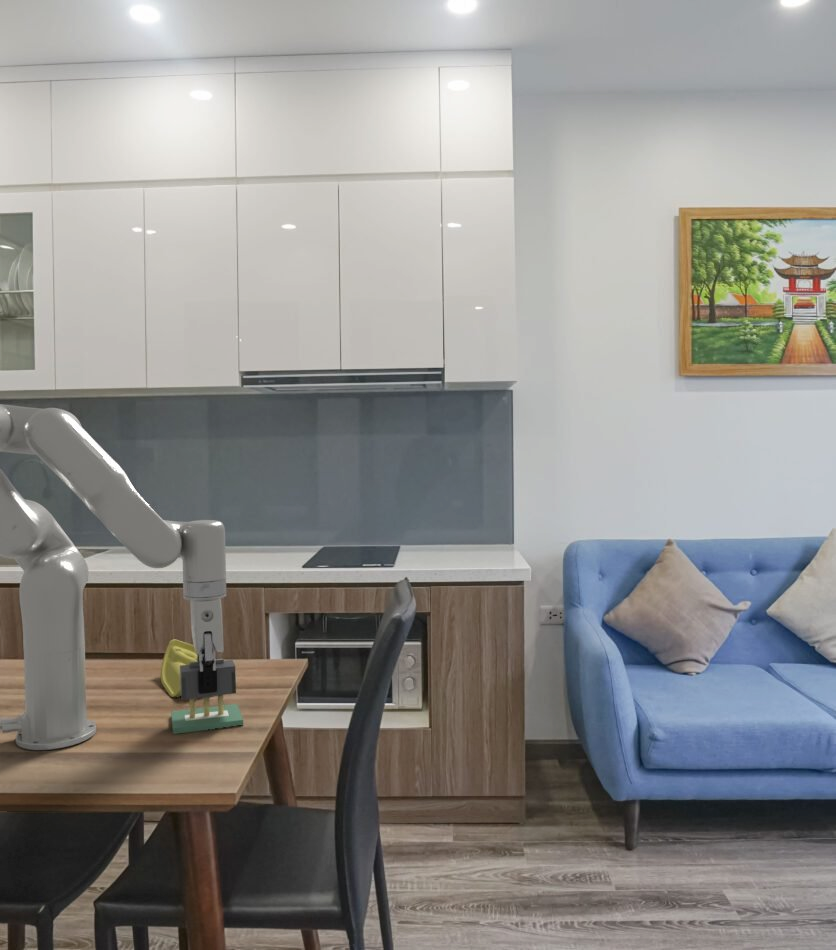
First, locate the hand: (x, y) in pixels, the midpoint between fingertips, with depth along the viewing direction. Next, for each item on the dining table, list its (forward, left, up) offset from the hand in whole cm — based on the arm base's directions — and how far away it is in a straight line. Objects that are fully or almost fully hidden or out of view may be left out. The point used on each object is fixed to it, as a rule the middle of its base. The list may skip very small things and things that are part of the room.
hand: (206, 687), depth 141 cm
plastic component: (-1, +24, -7) cm, 25 cm away
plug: (0, 0, -1) cm, 1 cm away
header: (0, 0, -6) cm, 6 cm away
